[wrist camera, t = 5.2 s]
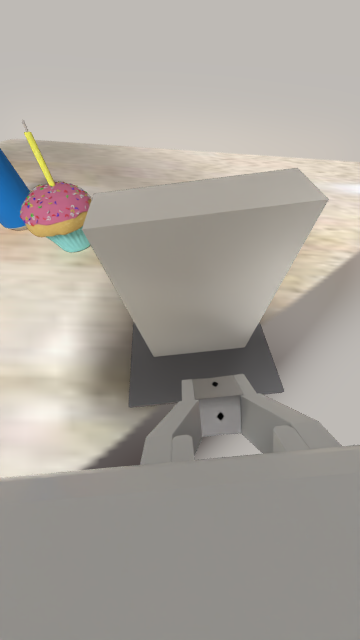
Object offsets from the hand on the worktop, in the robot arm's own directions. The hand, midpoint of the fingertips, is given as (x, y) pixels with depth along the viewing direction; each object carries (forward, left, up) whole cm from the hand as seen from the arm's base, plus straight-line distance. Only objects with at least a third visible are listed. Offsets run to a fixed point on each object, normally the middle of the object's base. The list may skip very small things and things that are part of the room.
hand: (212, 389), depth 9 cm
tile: (+4, +3, -6) cm, 8 cm away
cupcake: (+8, +26, -7) cm, 29 cm away
